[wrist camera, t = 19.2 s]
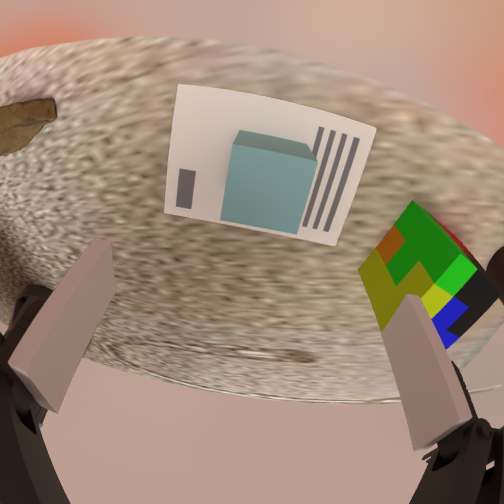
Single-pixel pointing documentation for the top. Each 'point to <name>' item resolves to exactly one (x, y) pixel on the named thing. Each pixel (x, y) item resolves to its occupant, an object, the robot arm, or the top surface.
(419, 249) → the puzzle toy
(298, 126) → the letter
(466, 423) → the robot arm
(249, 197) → the teal cube
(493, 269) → the wine bottle
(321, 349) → the top surface
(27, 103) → the rock
